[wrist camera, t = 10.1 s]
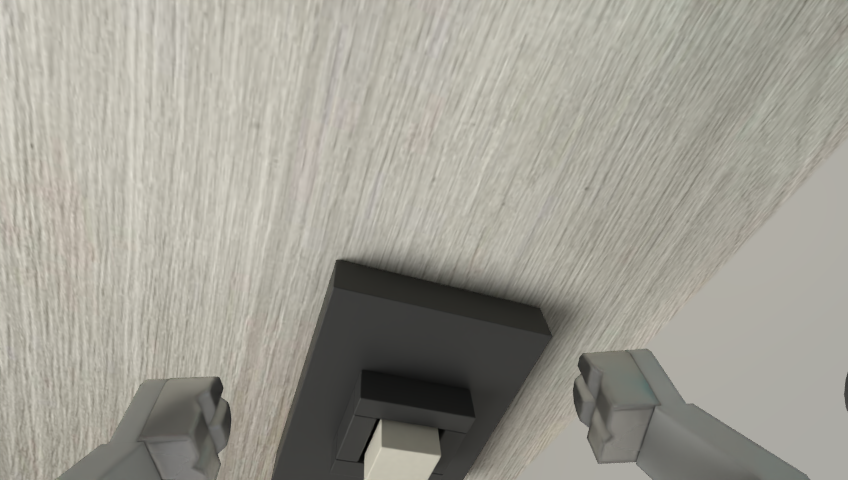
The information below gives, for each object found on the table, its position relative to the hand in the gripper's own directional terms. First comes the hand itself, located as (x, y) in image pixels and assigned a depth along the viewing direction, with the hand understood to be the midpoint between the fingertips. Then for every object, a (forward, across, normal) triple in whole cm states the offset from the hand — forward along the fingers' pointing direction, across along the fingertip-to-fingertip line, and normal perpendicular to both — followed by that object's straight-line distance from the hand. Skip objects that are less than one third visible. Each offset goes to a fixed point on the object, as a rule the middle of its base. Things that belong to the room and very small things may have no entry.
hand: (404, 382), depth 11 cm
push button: (+8, 0, +13) cm, 16 cm away
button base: (+12, 0, +13) cm, 18 cm away
